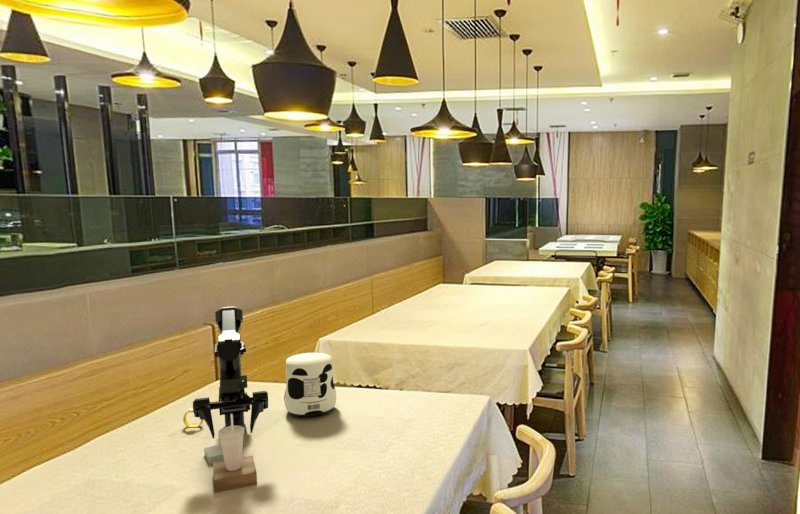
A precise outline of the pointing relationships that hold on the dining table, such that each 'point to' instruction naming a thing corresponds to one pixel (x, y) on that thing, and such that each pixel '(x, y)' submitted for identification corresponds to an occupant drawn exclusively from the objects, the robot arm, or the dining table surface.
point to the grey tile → (214, 453)
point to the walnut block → (234, 475)
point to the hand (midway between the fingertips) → (232, 435)
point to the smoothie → (232, 445)
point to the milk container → (309, 384)
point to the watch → (186, 421)
